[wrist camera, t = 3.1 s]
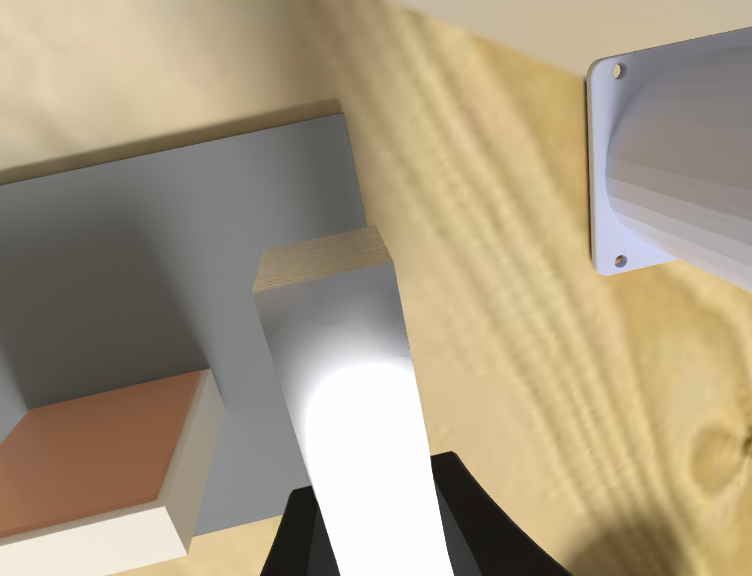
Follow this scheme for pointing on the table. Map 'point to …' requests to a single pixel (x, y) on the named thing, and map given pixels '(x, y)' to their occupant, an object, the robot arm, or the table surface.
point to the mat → (171, 288)
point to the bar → (354, 400)
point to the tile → (107, 478)
